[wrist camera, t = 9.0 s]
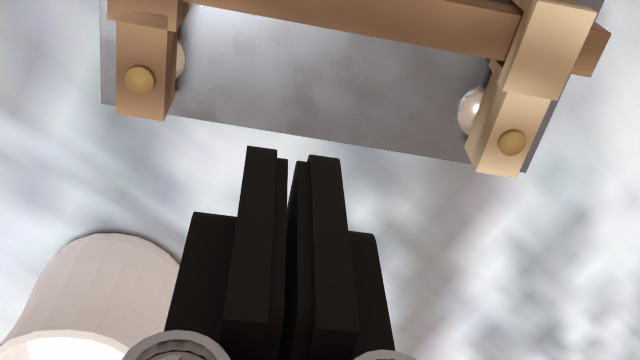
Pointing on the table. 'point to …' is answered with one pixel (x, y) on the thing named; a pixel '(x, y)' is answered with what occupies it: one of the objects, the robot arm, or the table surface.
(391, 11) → the rail
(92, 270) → the cup
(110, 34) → the strip
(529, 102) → the sliding jaw
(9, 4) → the table surface
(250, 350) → the robot arm
